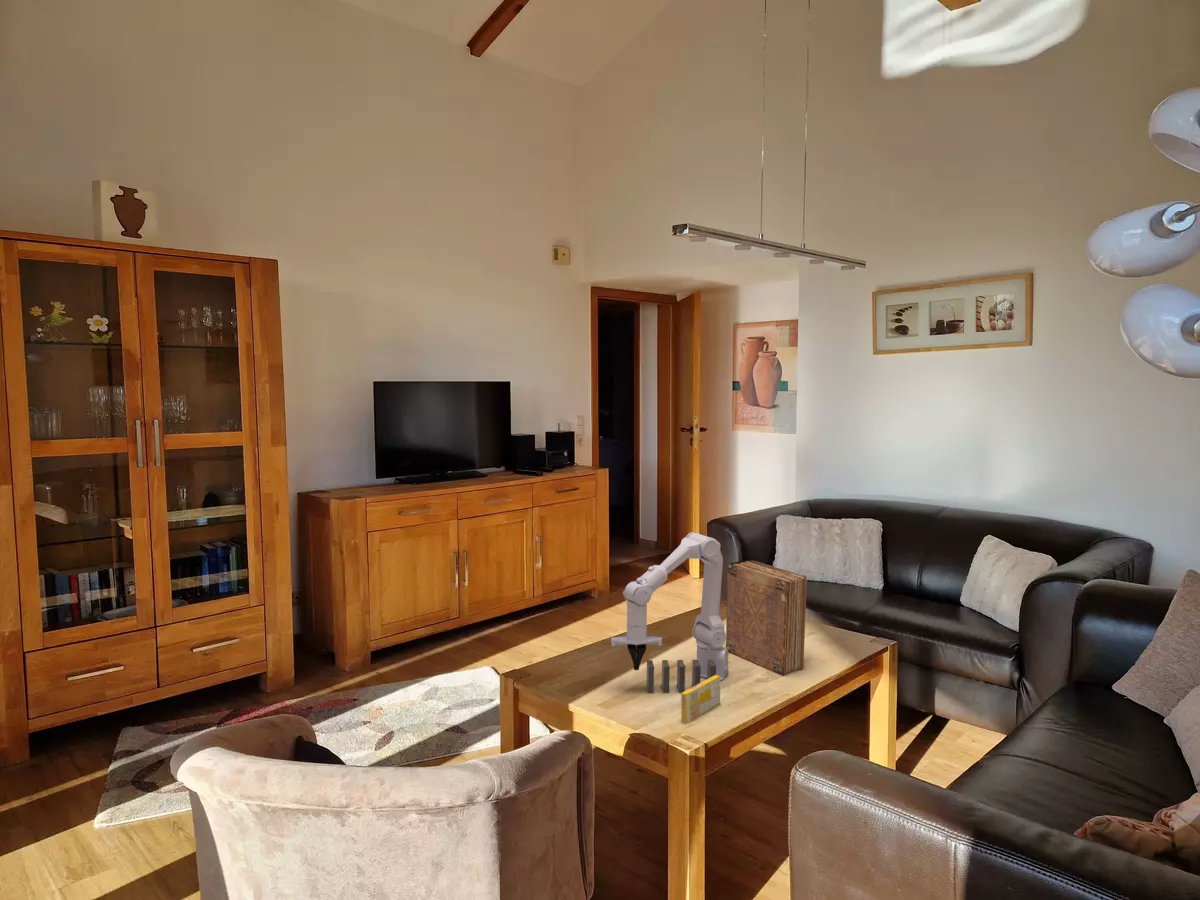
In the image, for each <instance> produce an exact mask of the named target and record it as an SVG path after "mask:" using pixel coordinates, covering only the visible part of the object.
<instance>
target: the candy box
mask: <svg viewBox="0 0 1200 900" xmlns="http://www.w3.org/2000/svg"><path fill="white" fill-rule="evenodd" d="M680 695H681V698H680V699H681V701H680V702H681V710H680V711H681V719H680V720H681V722H682V723H684V724H688V723H690V722H692V721H693V720H695V719H697V718H699V717H701V716H702V715H704V714H706V713H707V712H709V711H711V710H712V709H714V708H716V707H718V706H719V705H721V680H720V676H717V675H714V676H712V677H710V678H709V679H707V678H706V679H705V680H703V681H700V683H699V684H697V685H695V686H694V687H692V686H691V687H690V688H688V689H686V690H685V691H684V692H682V693H680Z"/></svg>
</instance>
